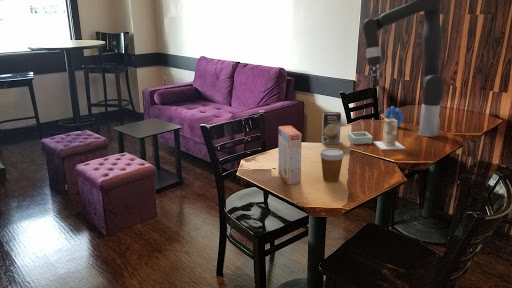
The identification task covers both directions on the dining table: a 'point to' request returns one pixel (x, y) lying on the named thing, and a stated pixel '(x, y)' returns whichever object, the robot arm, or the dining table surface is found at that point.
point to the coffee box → (331, 127)
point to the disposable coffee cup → (331, 164)
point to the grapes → (394, 114)
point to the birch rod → (389, 132)
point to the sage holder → (359, 137)
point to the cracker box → (290, 154)
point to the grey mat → (383, 147)
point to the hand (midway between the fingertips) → (376, 86)
